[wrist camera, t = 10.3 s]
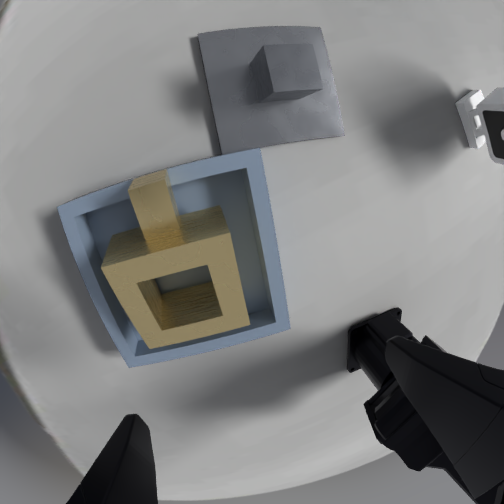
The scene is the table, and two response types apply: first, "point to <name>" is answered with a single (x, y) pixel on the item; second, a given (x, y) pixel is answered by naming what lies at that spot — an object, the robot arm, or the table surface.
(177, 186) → the tray
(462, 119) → the security camera
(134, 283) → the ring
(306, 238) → the table surface
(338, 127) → the grey peg base
